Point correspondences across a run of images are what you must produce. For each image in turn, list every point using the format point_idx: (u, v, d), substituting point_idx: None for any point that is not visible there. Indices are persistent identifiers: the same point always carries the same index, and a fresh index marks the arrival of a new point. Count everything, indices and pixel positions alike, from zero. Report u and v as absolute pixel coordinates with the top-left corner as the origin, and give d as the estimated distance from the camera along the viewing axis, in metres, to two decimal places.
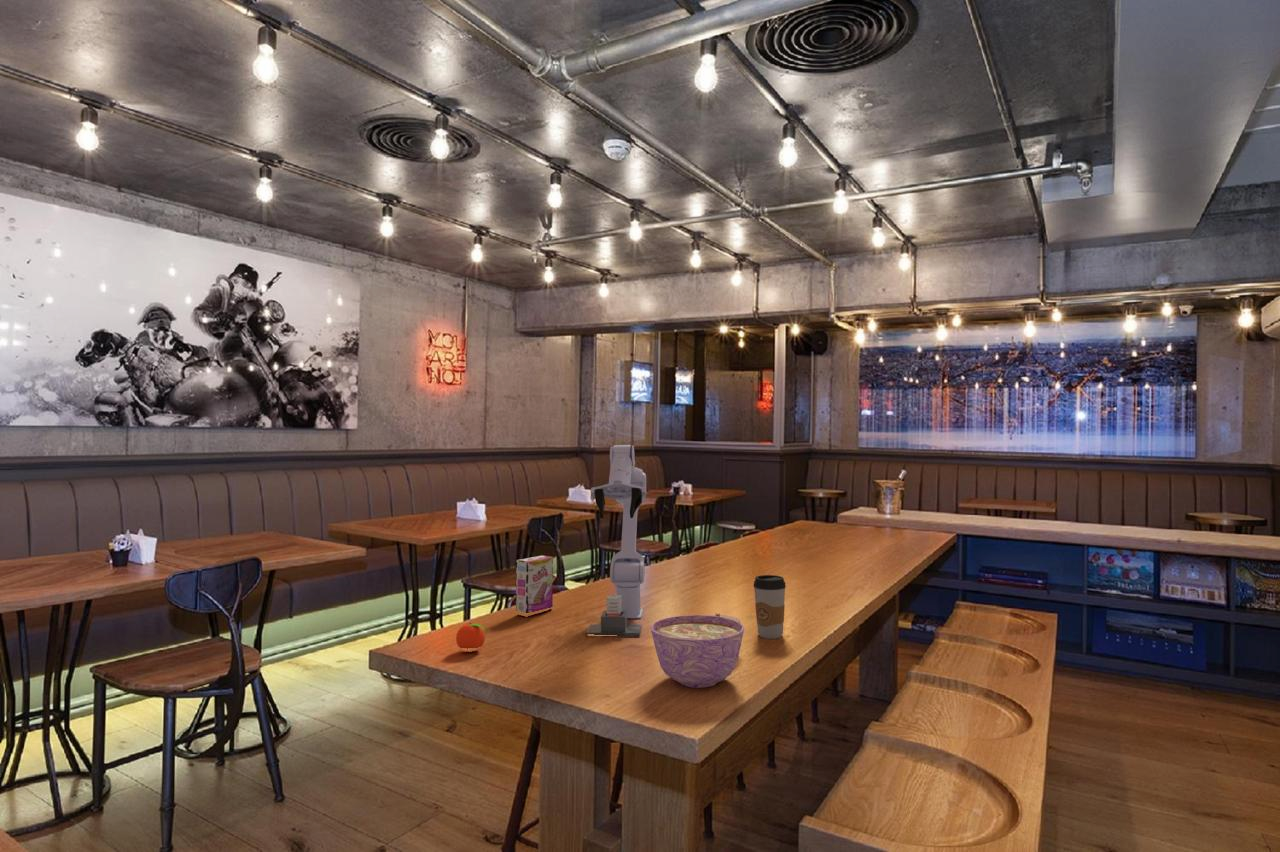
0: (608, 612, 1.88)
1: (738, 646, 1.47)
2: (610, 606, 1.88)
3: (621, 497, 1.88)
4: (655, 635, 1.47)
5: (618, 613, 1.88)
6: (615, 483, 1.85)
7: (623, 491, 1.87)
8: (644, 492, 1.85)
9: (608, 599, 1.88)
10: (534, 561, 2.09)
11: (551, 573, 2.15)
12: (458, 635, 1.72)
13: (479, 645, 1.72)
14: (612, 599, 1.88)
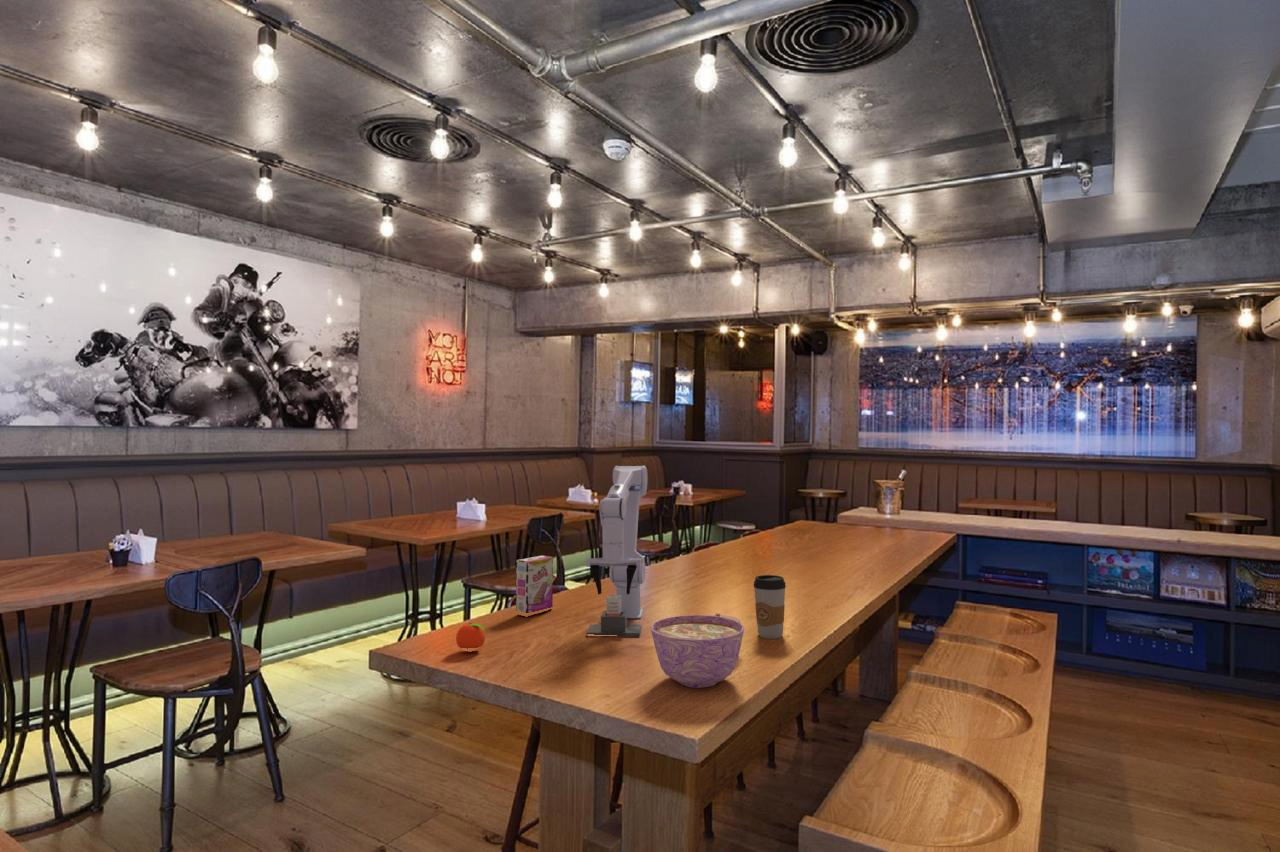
0: (608, 612, 1.88)
1: (738, 646, 1.47)
2: (610, 606, 1.88)
3: None
4: (655, 635, 1.47)
5: (618, 613, 1.88)
6: (610, 563, 1.87)
7: None
8: None
9: (608, 599, 1.88)
10: (534, 561, 2.09)
11: (551, 573, 2.15)
12: (458, 635, 1.72)
13: (479, 645, 1.72)
14: (612, 599, 1.88)
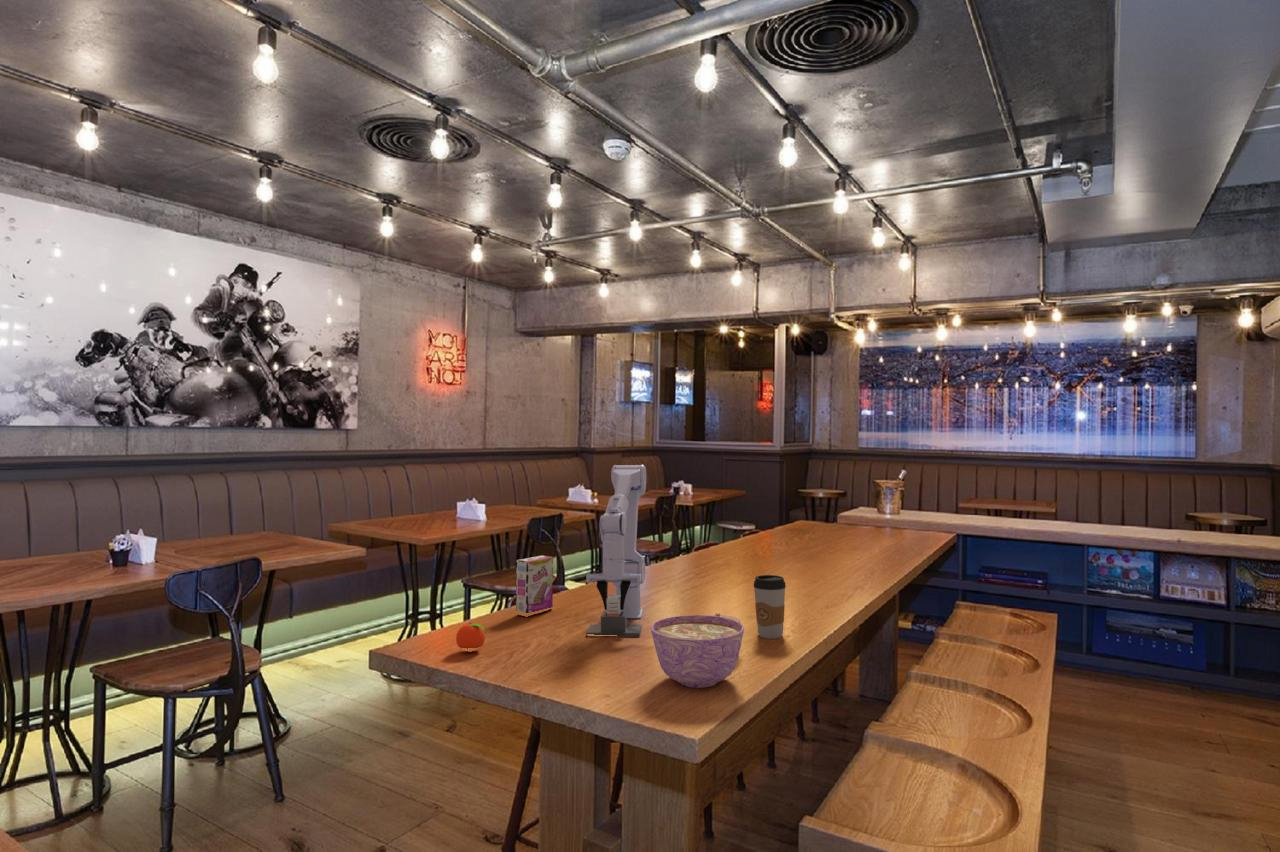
0: (608, 612, 1.88)
1: (738, 646, 1.47)
2: (610, 606, 1.88)
3: None
4: (655, 635, 1.47)
5: (618, 613, 1.88)
6: (610, 579, 1.87)
7: None
8: None
9: (608, 599, 1.88)
10: (534, 561, 2.09)
11: (551, 573, 2.15)
12: (458, 635, 1.72)
13: (479, 645, 1.72)
14: (612, 599, 1.88)
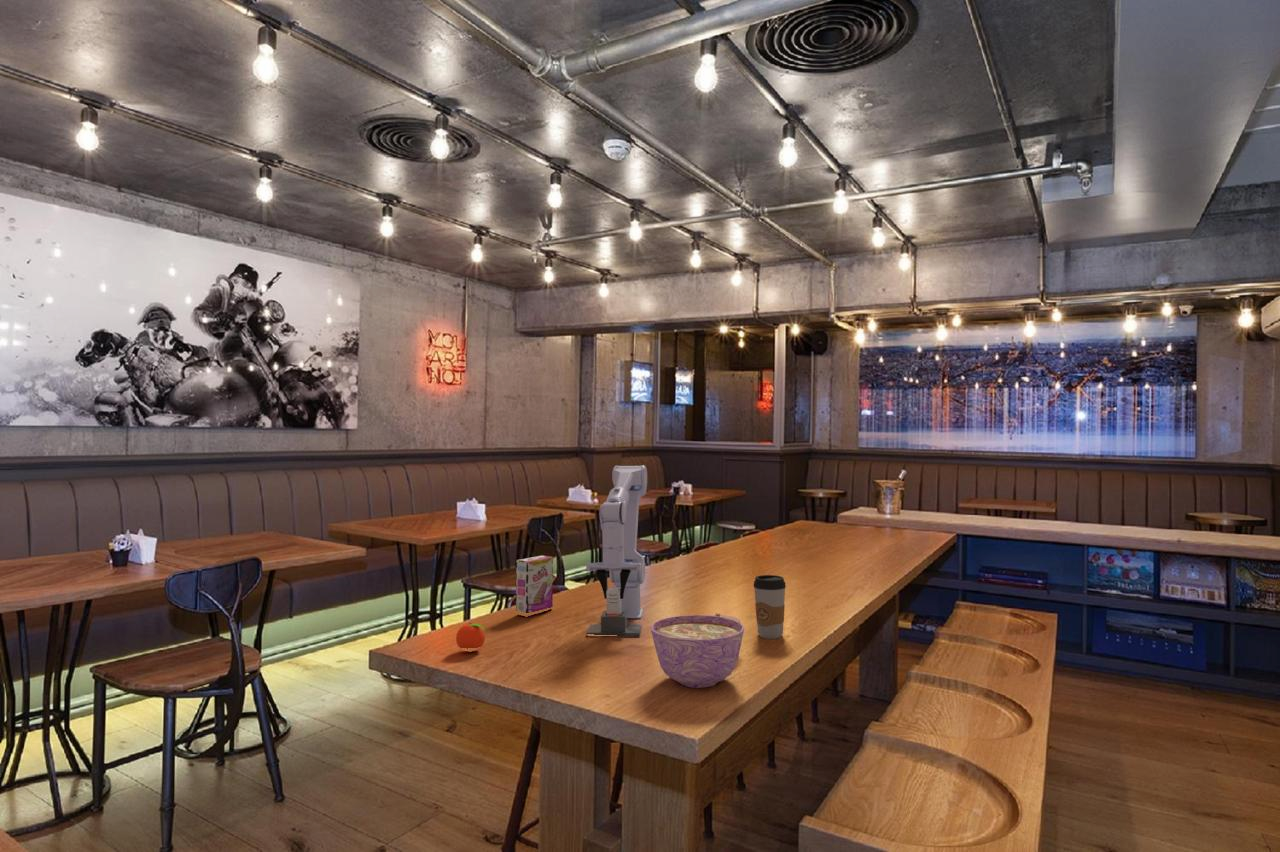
0: (608, 604, 1.88)
1: (738, 646, 1.47)
2: (610, 598, 1.88)
3: None
4: (655, 635, 1.47)
5: (618, 605, 1.88)
6: None
7: None
8: (639, 570, 1.88)
9: (608, 591, 1.88)
10: (534, 561, 2.09)
11: (551, 573, 2.15)
12: (458, 635, 1.72)
13: (479, 645, 1.72)
14: (612, 591, 1.88)
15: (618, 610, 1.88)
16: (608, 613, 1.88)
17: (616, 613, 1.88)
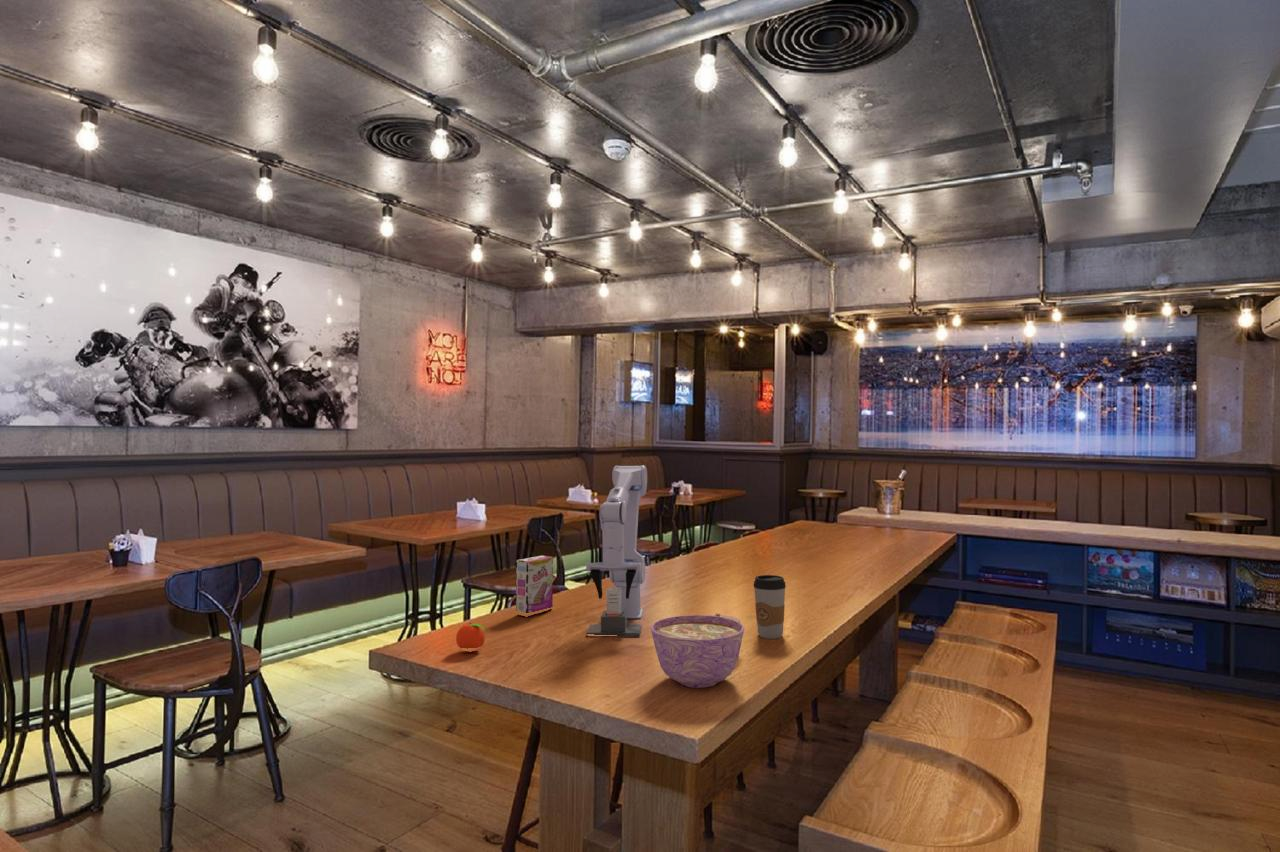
0: (608, 604, 1.88)
1: (738, 646, 1.47)
2: (610, 598, 1.88)
3: None
4: (655, 635, 1.47)
5: (618, 605, 1.88)
6: None
7: None
8: (639, 570, 1.88)
9: (608, 591, 1.88)
10: (534, 561, 2.09)
11: (551, 573, 2.15)
12: (458, 635, 1.72)
13: (479, 645, 1.72)
14: (612, 591, 1.88)
15: (618, 610, 1.88)
16: (608, 613, 1.88)
17: (616, 613, 1.88)
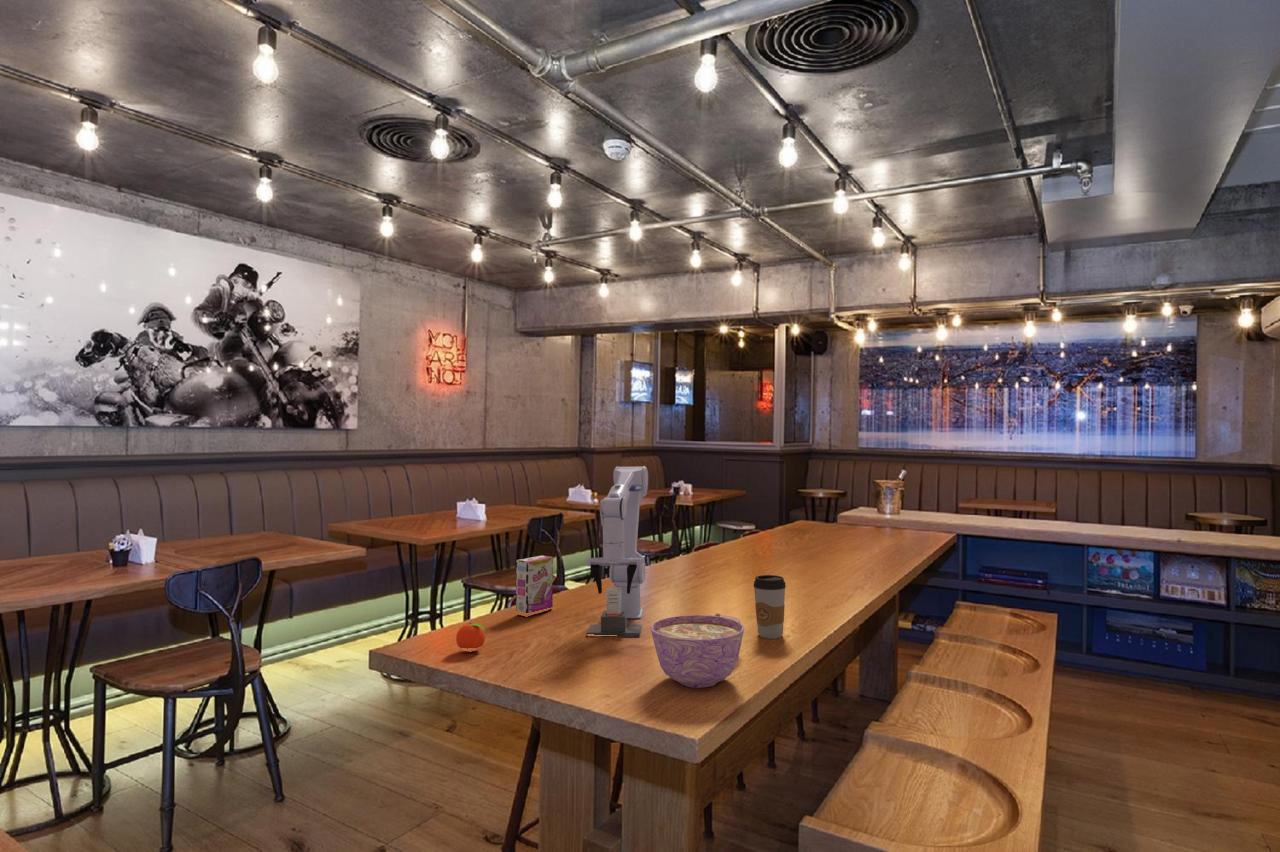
0: (608, 604, 1.88)
1: (738, 646, 1.47)
2: (610, 598, 1.88)
3: None
4: (655, 635, 1.47)
5: (618, 605, 1.88)
6: None
7: None
8: (639, 565, 1.89)
9: (608, 591, 1.88)
10: (534, 561, 2.09)
11: (551, 573, 2.15)
12: (458, 635, 1.72)
13: (479, 645, 1.72)
14: (612, 591, 1.88)
15: (618, 610, 1.88)
16: (608, 613, 1.88)
17: (616, 613, 1.88)
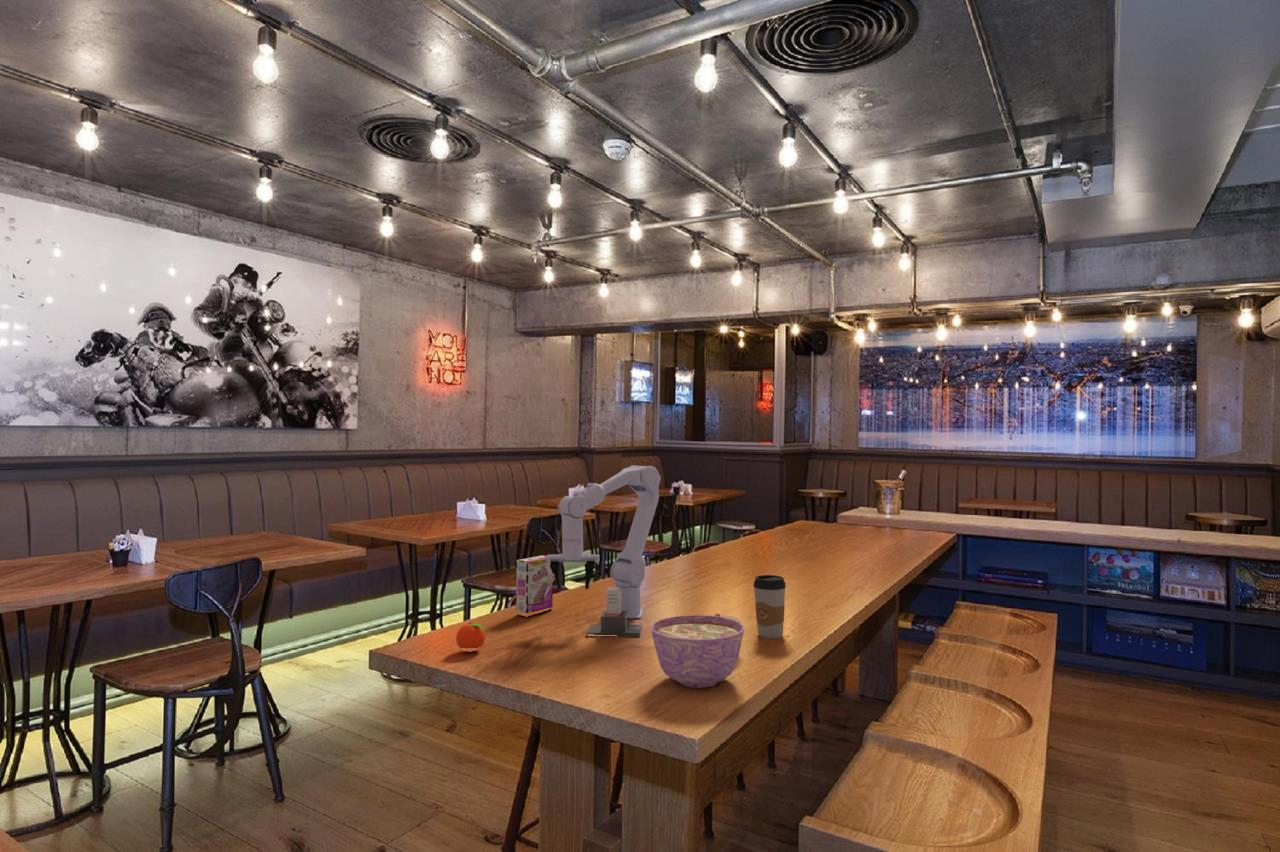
0: (608, 604, 1.88)
1: (738, 646, 1.47)
2: (610, 598, 1.88)
3: None
4: (655, 635, 1.47)
5: (618, 605, 1.88)
6: (568, 559, 1.94)
7: None
8: None
9: (608, 591, 1.88)
10: (534, 561, 2.09)
11: (551, 573, 2.15)
12: (458, 635, 1.72)
13: (479, 645, 1.72)
14: (612, 591, 1.88)
15: (618, 610, 1.88)
16: (608, 613, 1.88)
17: (616, 613, 1.88)
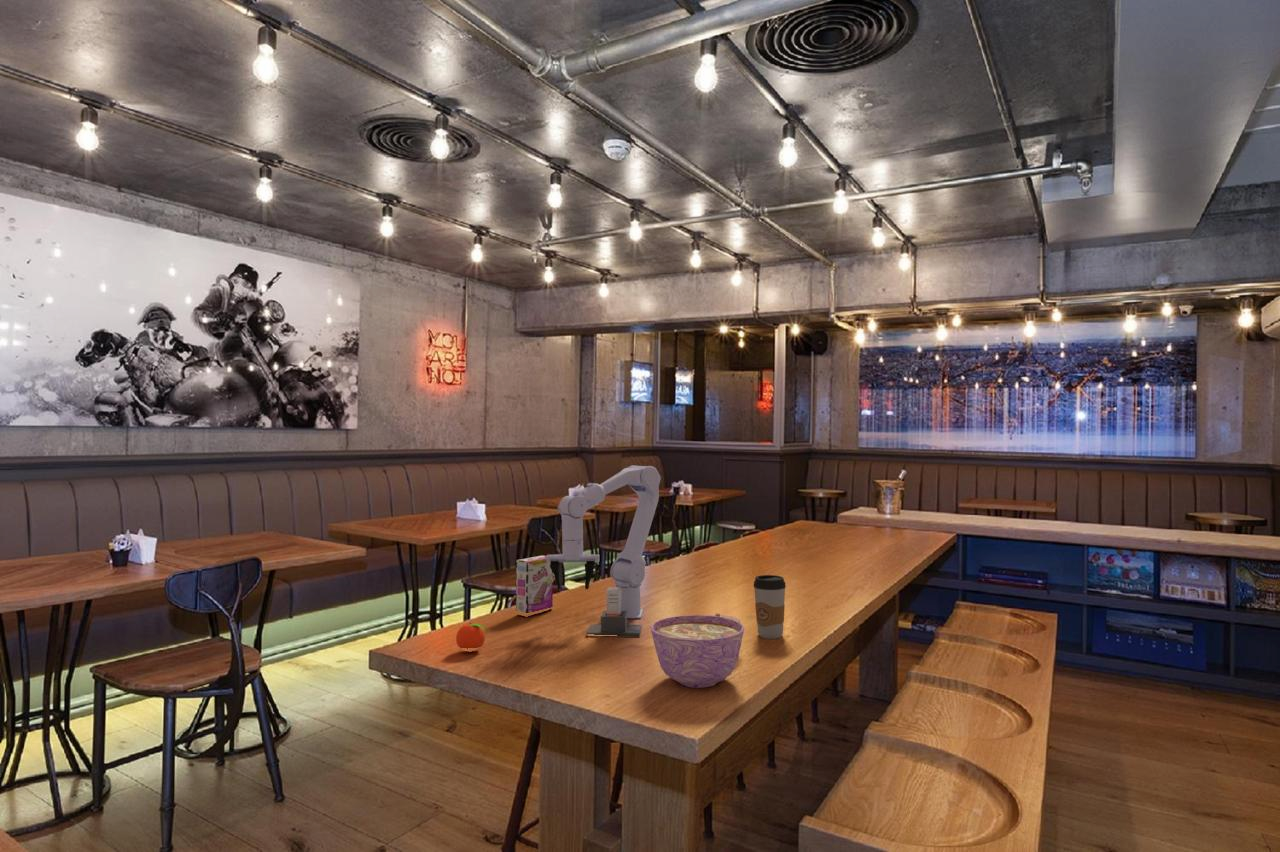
0: (608, 604, 1.88)
1: (738, 646, 1.47)
2: (610, 598, 1.88)
3: None
4: (655, 635, 1.47)
5: (618, 605, 1.88)
6: (568, 559, 1.94)
7: None
8: None
9: (608, 591, 1.88)
10: (534, 561, 2.09)
11: (551, 573, 2.15)
12: (458, 635, 1.72)
13: (479, 645, 1.72)
14: (612, 591, 1.88)
15: (618, 610, 1.88)
16: (608, 613, 1.88)
17: (616, 613, 1.88)
